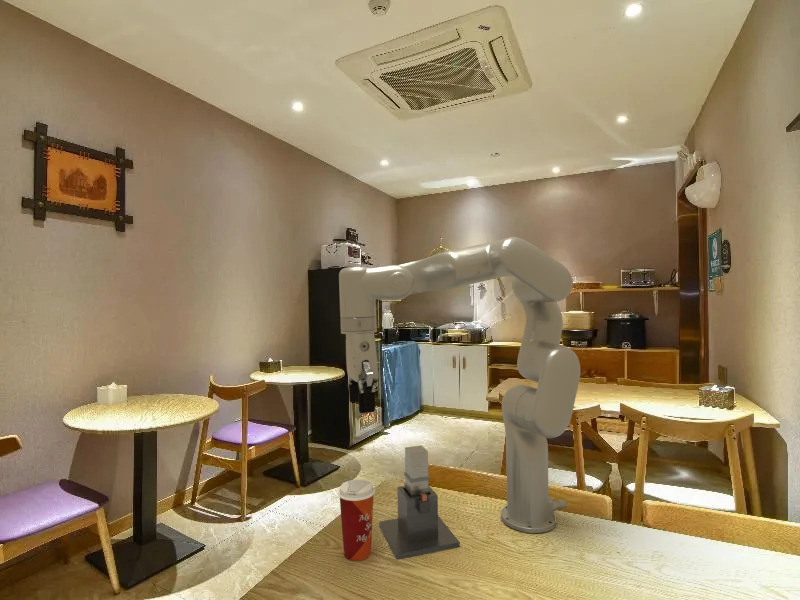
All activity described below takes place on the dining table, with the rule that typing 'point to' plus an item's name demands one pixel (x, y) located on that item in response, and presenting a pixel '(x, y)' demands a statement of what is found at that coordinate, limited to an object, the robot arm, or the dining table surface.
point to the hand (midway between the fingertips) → (361, 406)
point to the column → (416, 471)
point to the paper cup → (356, 518)
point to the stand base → (417, 526)
